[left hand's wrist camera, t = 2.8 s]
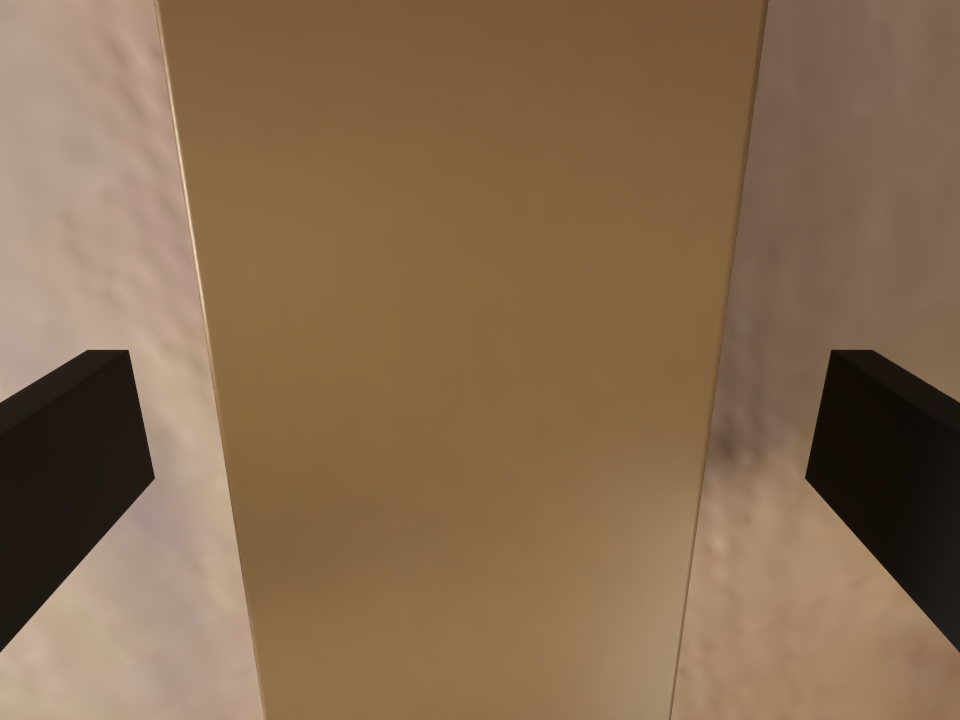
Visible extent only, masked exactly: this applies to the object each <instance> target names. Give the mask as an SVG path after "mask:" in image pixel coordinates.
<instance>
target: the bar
mask: <svg viewBox="0 0 960 720" xmlns="http://www.w3.org/2000/svg"><path fill="white" fill-rule="evenodd" d="M154 4H155V10H156V17H157V23H158V30H159V36H160V43H161V50H162V56H163V63H164V69H165V76H166V82H167V89H168V95H169V102H170V108H171V115H172V121H173V128H174V134H175V141H176V147H177V154H178V160H179V167H180V173H181V180H182V186H183V193H184V199H185V206H186V212H187V219H188V225H189V232H190V238H191V245H192V251H193V258H194V264H195V271H196V277H197V284H198V290H199V297H200V303H201V310H202V316H203V323H204V329H205V336H206V342H207V349H208V355H209V362H210V368H211V375H212V381H213V388H214V394H215V401H216V407H217V414H218V420H219V427H220V433H221V440H222V446H223V453H224V459H225V466H226V472H227V479H228V485H229V492H230V498H231V505H232V511H233V518H234V524H235V531H236V537H237V544H238V550H239V557H240V563H241V570H242V576H243V583H244V589H245V596H246V602H247V609H248V615H249V622H250V628H251V635H252V641H253V648H254V655H255V661H256V668H257V674H258V681H259V687H260V694H261V700H262V707H263V713H264V720H671V713H672V706H673V698H674V691H675V684H676V676H677V669H678V662H679V654H680V647H681V639H682V632H683V625H684V617H685V610H686V603H687V595H688V588H689V581H690V573H691V566H692V558H693V551H694V544H695V536H696V529H697V522H698V514H699V507H700V500H701V492H702V485H703V477H704V470H705V463H706V455H707V448H708V441H709V433H710V426H711V419H712V411H713V404H714V396H715V389H716V382H717V374H718V367H719V360H720V352H721V345H722V338H723V330H724V323H725V315H726V308H727V301H728V293H729V286H730V279H731V271H732V264H733V257H734V249H735V242H736V234H737V227H738V220H739V212H740V205H741V198H742V190H743V183H744V176H745V168H746V161H747V153H748V146H749V139H750V131H751V124H752V117H753V109H754V102H755V95H756V87H757V80H758V72H759V65H760V58H761V50H762V43H763V36H764V28H765V21H766V14H767V6H768V0H154Z"/></svg>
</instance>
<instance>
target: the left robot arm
mask: <svg viewBox="0 0 960 720" xmlns="http://www.w3.org/2000/svg"><path fill="white" fill-rule="evenodd" d="M154 479H155V476H154V471H153V466H152V462H151V457H150V452H149V447H148V442H147V437H146V432H145V427H144V423H143V418H142V413H141V408H140V403H139V398H138V393H137V389H136V384H135V379H134V374H133V369H132V364H131V359H130V354H129V350H87V351H85V352H83V353H82V354H80V355H78V356H77V357H75V358H73V359H72V360H70V361H69V362H67V363H65V364H64V365H62V366H60V367H59V368H57V369H55V370H54V371H52V372H50V373H49V374H47V375H45V376H44V377H42V378H40V379H39V380H37V381H35V382H34V383H32V384H31V385H29V386H27V387H26V388H24V389H22V390H21V391H19V392H17V393H16V394H14V395H12V396H11V397H9V398H7V399H6V400H4V401H2V402H1V403H0V652H1V651H2V650H3V649H4V648H5V647H6V645H7V644H8V643H9V642H10V641H11V640H12V639H13V638H14V636H15V635H16V634H17V633H18V632H19V631H20V630H21V629H22V627H23V626H24V625H25V624H26V623H27V622H28V621H29V620H30V618H31V617H32V616H33V615H34V614H35V613H36V612H37V611H38V609H39V608H40V607H41V606H42V605H43V604H44V603H45V602H46V600H47V599H48V598H49V597H50V596H51V595H52V594H53V593H54V591H55V590H56V589H57V588H58V587H59V586H60V585H61V584H62V582H63V581H64V580H65V579H66V578H67V577H68V576H69V575H70V573H71V572H72V571H73V570H74V569H75V568H76V567H77V566H78V564H79V563H80V562H81V561H82V560H83V559H84V558H85V556H86V555H87V554H88V553H89V552H90V551H91V550H92V549H93V547H94V546H95V545H96V544H97V543H98V542H99V541H100V540H101V538H102V537H103V536H104V535H105V534H106V533H107V532H108V531H109V529H110V528H111V527H112V526H113V525H114V524H115V523H116V522H117V520H118V519H119V518H120V517H121V516H122V515H123V514H124V513H125V511H126V510H127V509H128V508H129V507H130V506H131V505H132V504H133V502H134V501H135V500H136V499H137V498H138V497H139V496H140V495H141V493H142V492H143V491H144V490H145V489H146V488H147V487H148V486H149V484H150V483H151V482H152V481H153V480H154ZM805 479H806V480H807V481H808V482H809V483H810V484H811V486H812V487H813V488H814V489H815V490H816V491H817V492H818V493H819V495H820V496H821V497H822V498H823V499H824V500H825V501H826V502H827V504H828V505H829V506H830V507H831V508H832V509H833V510H834V511H835V513H836V514H837V515H838V516H839V517H840V518H841V519H842V520H843V522H844V523H845V524H846V525H847V526H848V527H849V528H850V529H851V531H852V532H853V533H854V534H855V535H856V536H857V537H858V538H859V540H860V541H861V542H862V543H863V544H864V545H865V546H866V547H867V549H868V550H869V551H870V552H871V553H872V554H873V555H874V556H875V558H876V559H877V560H878V561H879V562H880V563H881V564H882V566H883V567H884V568H885V569H886V570H887V571H888V572H889V573H890V575H891V576H892V577H893V578H894V579H895V580H896V581H897V582H898V584H899V585H900V586H901V587H902V588H903V589H904V590H905V591H906V593H907V594H908V595H909V596H910V597H911V598H912V599H913V600H914V602H915V603H916V604H917V605H918V606H919V607H920V608H921V609H922V611H923V612H924V613H925V614H926V615H927V616H928V617H929V618H930V620H931V621H932V622H933V623H934V624H935V625H936V626H937V627H938V629H939V630H940V631H941V632H942V633H943V634H944V635H945V636H946V638H947V639H948V640H949V641H950V642H951V643H952V644H953V645H954V647H955V648H956V649H957V650H958V651H959V652H960V403H959V402H958V401H956V400H954V399H953V398H951V397H949V396H948V395H946V394H944V393H943V392H941V391H939V390H938V389H936V388H934V387H933V386H931V385H929V384H928V383H926V382H925V381H923V380H921V379H920V378H918V377H916V376H915V375H913V374H911V373H910V372H908V371H906V370H905V369H903V368H901V367H900V366H898V365H896V364H895V363H893V362H891V361H890V360H888V359H887V358H885V357H883V356H882V355H880V354H878V353H877V352H875V351H873V350H831V354H830V359H829V364H828V369H827V374H826V379H825V384H824V389H823V393H822V398H821V403H820V408H819V413H818V418H817V423H816V427H815V432H814V437H813V442H812V447H811V452H810V457H809V462H808V466H807V471H806V476H805Z"/></svg>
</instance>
